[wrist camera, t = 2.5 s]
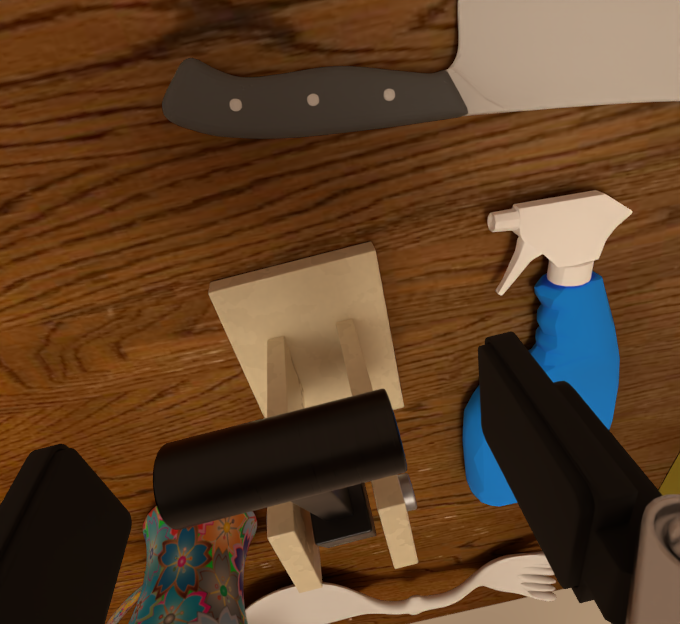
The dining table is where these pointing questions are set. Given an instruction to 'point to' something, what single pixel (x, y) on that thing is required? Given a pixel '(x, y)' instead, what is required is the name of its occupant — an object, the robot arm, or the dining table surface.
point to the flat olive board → (672, 480)
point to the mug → (192, 573)
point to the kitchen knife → (455, 73)
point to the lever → (286, 467)
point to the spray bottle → (556, 315)
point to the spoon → (341, 602)
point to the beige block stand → (317, 373)
